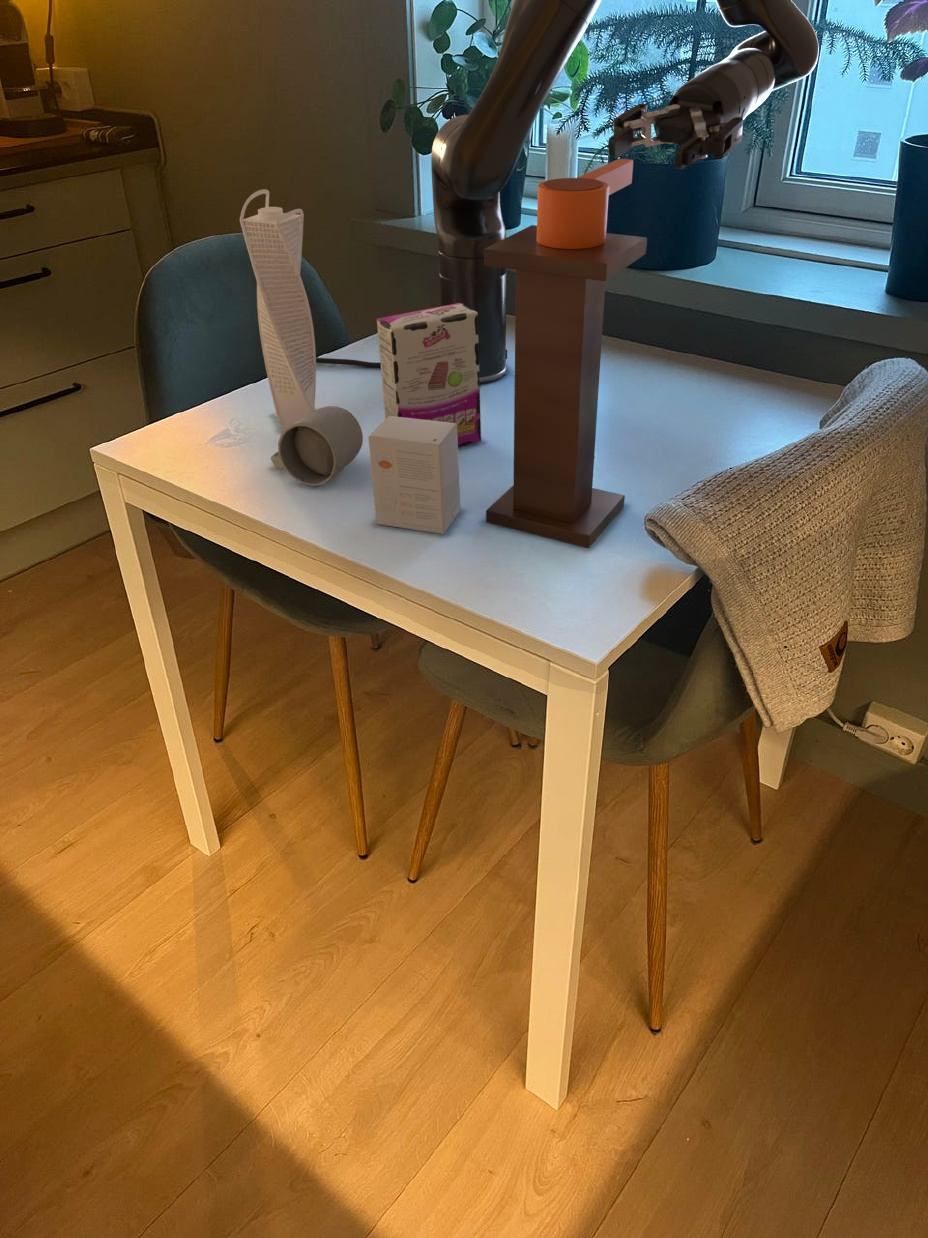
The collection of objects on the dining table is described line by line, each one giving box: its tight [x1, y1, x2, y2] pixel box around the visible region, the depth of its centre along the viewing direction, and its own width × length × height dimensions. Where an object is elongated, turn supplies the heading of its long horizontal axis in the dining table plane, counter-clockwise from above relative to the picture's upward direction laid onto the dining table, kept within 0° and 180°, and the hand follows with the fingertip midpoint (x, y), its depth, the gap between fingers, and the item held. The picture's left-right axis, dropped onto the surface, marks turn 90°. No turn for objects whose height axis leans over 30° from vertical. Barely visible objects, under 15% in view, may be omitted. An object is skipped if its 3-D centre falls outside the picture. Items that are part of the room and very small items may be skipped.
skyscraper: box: [239, 188, 317, 433], centre depth 119 cm, size 8×7×28 cm
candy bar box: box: [376, 303, 482, 448], centre depth 115 cm, size 11×5×16 cm, turn 117°
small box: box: [367, 416, 462, 535], centre depth 102 cm, size 8×6×10 cm
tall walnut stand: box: [484, 224, 648, 549], centre depth 97 cm, size 10×12×28 cm
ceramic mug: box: [270, 405, 364, 487], centre depth 113 cm, size 11×8×8 cm
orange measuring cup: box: [536, 158, 634, 249], centre depth 91 cm, size 16×6×5 cm, turn 151°
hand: (644, 154), depth 108 cm, fingers open, 8 cm apart
